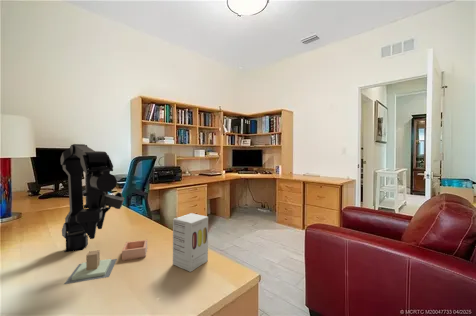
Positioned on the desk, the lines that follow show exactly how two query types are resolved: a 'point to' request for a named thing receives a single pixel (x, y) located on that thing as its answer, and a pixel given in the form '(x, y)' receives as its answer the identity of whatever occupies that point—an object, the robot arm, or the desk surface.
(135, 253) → the dish
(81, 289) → the desk surface
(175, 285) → the desk surface
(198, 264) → the supplement box
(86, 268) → the lid
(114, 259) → the mat
